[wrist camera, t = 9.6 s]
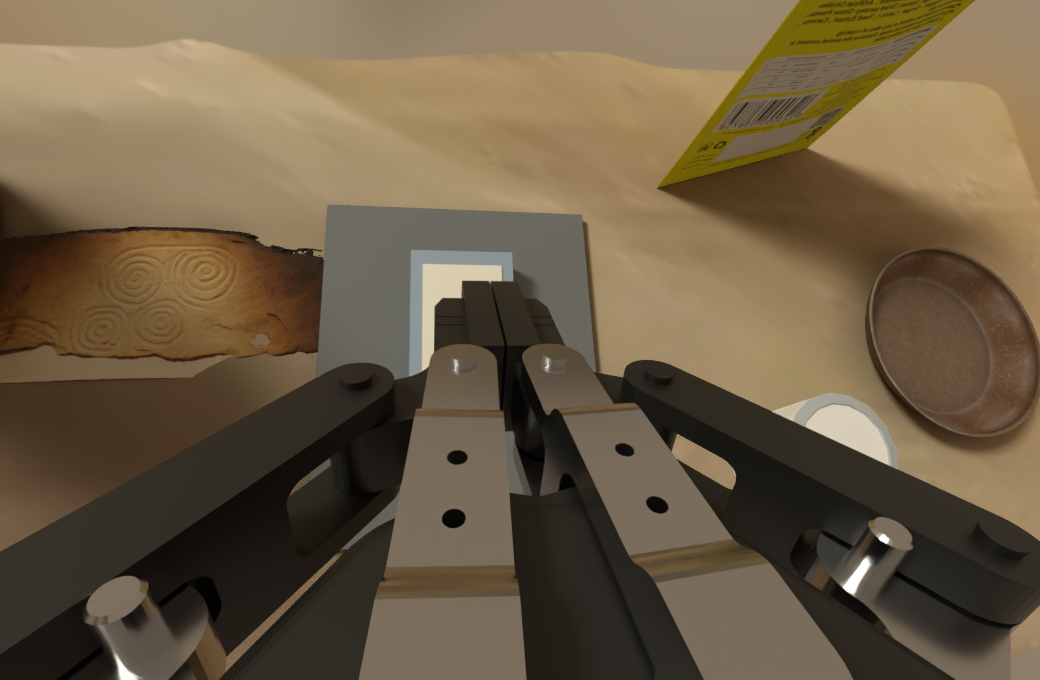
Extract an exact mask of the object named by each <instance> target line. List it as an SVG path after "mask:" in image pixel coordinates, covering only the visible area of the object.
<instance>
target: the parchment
mask: <svg viewBox="0 0 1040 680" xmlns="http://www.w3.org/2000/svg"><path fill="white" fill-rule="evenodd" d="M254 238H255V239H256V238H258V237H257V236H255V235H251V234H249V233H242V232H234V231H232V232H231V231H223V230H216V229H202V228H176V227H170V228H168V227H165V228H163V227H128V228H123V229H118V228H116V229H93V230H79V231H71V232H65V233H59V234H57V233H55V234H51V235H38V236H23V237H18V238H17V237H13V238H8V239H3V240H0V383H17V382H35V381H63V380H85V379H94V380H96V379H124V378H127V379H130V378H165V377H166V378H182V377H184V378H192V377H194V376H195V375H196V374H199V373H200V372H202V371H204V370H205V369H207V368H209V367H210V366H212V365H214V364H217V363H219V362H221V361H223V360H225V359H227V358H228V357H230V356H234V357H237V358H244V357H251V356H255V355H260V354H263V353H266V352H267V354H269V355H272V356H283V355H287V354H294V353H296V352H298V351H300V352H304V353H306V354H308V353H314V352H318V344H319V329H320V314H321V299H322V284H323V269H324V259H323V257H317V256H313V255H312V253H313V251H312V250H316V249H308V248H301V249H297V250H290V249H284V248H282V247H279V246H273V245H272V246H270V247H268V246H264V245H263V244H261V243H260V242H258V241H256V240H254ZM305 250H306V253H304V254H299V253H297V252H298V251H302V253H303V251H305ZM317 251H322V250H317ZM293 252H295V254H293ZM319 256H321V255H319ZM260 333H263V334H265V335H266V336H267V337H268V339H269V340H270V343H269V344H268V345H267V346H263V345H260V346H258V347H257V348H256V347H255V346H253V345H252V344H250V343H248V341H250V340H252V339H254V338H255V337H256V335H257V334H260Z"/></svg>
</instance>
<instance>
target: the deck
mask: <svg viewBox="0 0 1040 680" xmlns="http://www.w3.org/2000/svg"><path fill="white" fill-rule="evenodd" d="M462 280H464V281H489V282H491V281H513V261H512V252H475V251H437V250H411V282H410V350H409V376H413V375H415V374H418V373H420V372H422V371H423V370H425V369H426V368H427V367H429V362H430V358H431V356H432V354H433V353H434V312H435V305H436V304H437V303H438V302H439V301H440V300H441V299H442V298H461V291H462Z"/></svg>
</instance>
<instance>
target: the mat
mask: <svg viewBox="0 0 1040 680" xmlns="http://www.w3.org/2000/svg"><path fill="white" fill-rule="evenodd" d="M411 250H437V251H475V252H512V261H513V281H517V282H518V284H519V286H520V289H521V292H522V294H523V297H524V299H537V300H539V301H540V302H541V303H543V304H544V305H545V306H547V307H548V309H549V311H550V314H551V316H552V319H553V320H554V322H555V326H556V327H557V329H558V331H559V333H560V335H561V338H562V340H563V342H564V344H565V346H567V347H570V348H572V349H574V350H576V351H577V352H579V353H580V354H581V355H582V356H583V357H584V358H585V360H586V361H587V363H588V364H589V366H590V368H591V369H592V371H593V372H596V366H595V355H594V344H593V333H592V322H591V310H590V299H589V288H588V277H587V266H586V255H585V243H584V232H583V221H582V215H572V214H547V213H523V212H498V211H473V210H448V209H423V208H399V207H374V206H349V205H328V208H327V224H326V239H325V254H324V269H323V284H322V299H321V314H320V329H319V344H318V359H317V374H316V378H317V377H319V376H321V375H323V374H324V373H326V372H328V371H330V370H332V369H334V368H336V367H339V366H342V365H346V364H351V363H373V364H378V365H381V366H383V367H385V368H387V369H388V370H390V371H391V373H392V374H393V376H394V380H396V379H401V378H405V377H409V350H410V282H411ZM505 439H506V453H507V468H508V482H509V493H515V494H522V495H524V492H523V489H522V486H521V482H520V479H519V475H518V472H517V469H516V465H515V462H514V459H513V448H514V432H513V431H507V432H505ZM329 466H331V463H330V458H329V459H328V460H327V461H325V462H324V463H323V464H321V465H320V466H319V467H317V468H316V469H314V470H313V471H312V472H310V480H309V481H311V480H312V479H313V478H315V477H316V476H317V475H319V474H320V473H321V472H323V471H324V470H325V469H327V468H328V467H329ZM401 485H402V484H401ZM401 485H400V490H401ZM400 490H399V493H398V495H397V496H396V498H395V499H394V500H393V501H392V502H391V503H390V504H389V505H388V506H387V507H386V508H385V509H383V510H382V511H381V512H380V513H379V514H378V515H377V516H376V517H375V518H374V519H373V520H372V521H371V522H370V523H369V524H367V525H366V526H365V527H364V528H363V529H362V530H361V531H360V532H359V533H358V534H357V535H356V536H355V537H354V538H353V539H351V540H350V541H349V542H348V543H347V544H346V545H345V546H344V547H343V548H342V549H341V550H345V549H349V548H350V547H351V546H352V545H353V544H354V543H355V542H357V541H358V540H359V539H360V538H362V537H363V536H364V535H365V534H367V533H368V532H370V531H372V530H373V529H375V528H376V527H378V526H379V525H381V524H383V523H385V522H387V521H389V520H391V519H393V518H395V517H396V512H397V506H398V501H399V496H400Z"/></svg>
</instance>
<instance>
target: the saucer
mask: <svg viewBox="0 0 1040 680" xmlns="http://www.w3.org/2000/svg"><path fill="white" fill-rule="evenodd" d="M865 328H866V337H867V342H868V346H869V350H870V353H871V356H872V358H873V361H874V363H875V365H876V367H877V369H878V371H879V372H880V374H881V376H882V377H883V379H884V380H885V381H886V383H887V384H888V385H889V387H890V388H891V389H892V390H893V391H894V392H895V394H896V395H897V396H898V397H899V398H900V399H901V400H902V401H904V402H905V403H906V404H907V405H908V406H909V407H911V408H912V409H913V410H915V411H916V412H917V413H919V414H920V415H922V416H923V417H925V418H926V419H928V420H930V421H932V422H933V423H935V424H937V425H939V426H941V427H943V428H945V429H947V430H950V431H953V432H956V433H959V434H962V435H967V436H972V437H992V436H997V435H1001V434H1004V433H1007V432H1009V431H1011V430H1013V429H1015V428H1016V427H1018V426H1019V425H1020V424H1021V423H1023V422H1024V421H1025V420H1026V419H1027V418H1028V416H1029V415H1030V414H1031V412H1032V411H1033V409H1034V407H1035V406H1036V404H1037V401H1038V398H1039V396H1040V344H1039V340H1038V337H1037V335H1036V332H1035V329H1034V326H1033V324H1032V322H1031V320H1030V318H1029V316H1028V314H1027V312H1026V310H1025V309H1024V307H1023V305H1022V304H1021V302H1020V301H1019V300H1018V298H1017V297H1016V295H1015V294H1014V293H1013V291H1012V290H1011V289H1010V288H1009V287H1008V285H1007V284H1006V283H1005V282H1004V281H1003V280H1002V279H1001V278H1000V277H999V276H997V275H996V274H995V273H994V272H993V271H991V270H990V269H989V268H987V267H986V266H984V265H983V264H981V263H980V262H978V261H976V260H975V259H973V258H971V257H969V256H967V255H965V254H963V253H960V252H957V251H954V250H951V249H946V248H941V247H920V248H915V249H911V250H908V251H906V252H903V253H901V254H899V255H897V256H896V257H895V258H893V259H892V260H891V261H890V262H889V263H888V264H887V265H886V266H885V267H884V268H883V270H882V271H881V272H880V274H879V276H878V277H877V279H876V281H875V283H874V285H873V288H872V290H871V292H870V295H869V298H868V303H867V308H866V318H865Z"/></svg>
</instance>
